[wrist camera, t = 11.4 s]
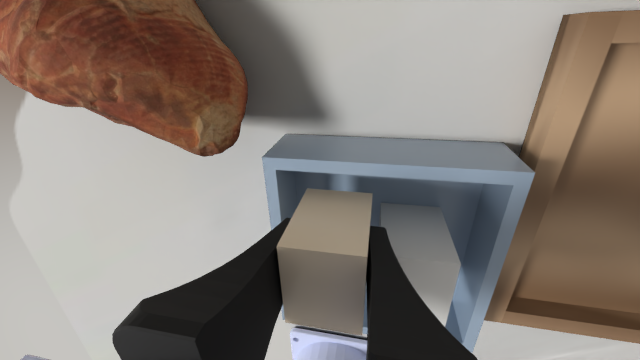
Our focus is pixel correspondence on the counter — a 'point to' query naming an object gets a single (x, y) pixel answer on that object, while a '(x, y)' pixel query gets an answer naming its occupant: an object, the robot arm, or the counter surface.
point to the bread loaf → (129, 66)
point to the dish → (417, 198)
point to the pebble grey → (424, 252)
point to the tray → (581, 188)
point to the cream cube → (326, 260)
